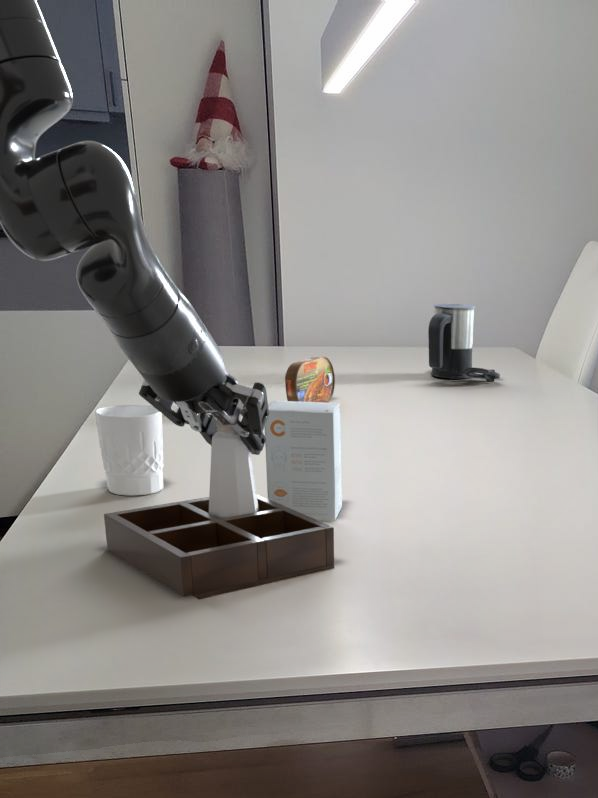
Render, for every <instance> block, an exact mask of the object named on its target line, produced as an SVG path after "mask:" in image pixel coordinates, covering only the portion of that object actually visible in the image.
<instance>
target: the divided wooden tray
mask: <svg viewBox="0 0 598 798" xmlns="http://www.w3.org/2000/svg"><path fill="white" fill-rule="evenodd" d="M256 494H257V501H258V507H259V510H258V512H255V513H249V514H243V515H238V516H232V517H227V518H221V519H220V518H218V517H216V516H213V515H211V514H209V496H206V497H205V496H204V497H199V498H193V499H187V500H182V501H181V500H180V501H176V502H169V503H162V504H156V505H149V506H144V507H143V506H142V507H138V508H132V509H124V510H120V511H119V510H117V511H113V512H106V513H103V519H104V520H103V521H104V530H105V539H106V548H107V551H109V552H111V553H112V554H114V555H115V556H117V557H119V558H120V559H122V560H123V561H125V562H127V563H128V564H130V565H131V566H133V567H134V568H137V570H140V571H141V572H143V573H144V574H146V575H148V576H149V577H150V578H153V579H154V580H156V581H157V582H159V583H160V584H162V585H163V586H165V587H167V588H169V589H170V590H172V591H173V592H175V593H176V594H178V595H180V597H183V598H185V597H189V596H193V597H194V598H196V599H197V600H203V599H207V598H211V597H216V596H219V595H220V596H221V595H224V594H228V593H233V592H237V591H241V590H245V589H249V588H255V587H259V586H262V585H267V584H272V583H277V582H281V581H286V580H290V579H293V578H297V577H298V578H299V577H302V576H307V575H311V574H316V573H319V572H324V571H325V572H326V571H329V570H333V569H335V537H334V536H335V528H334V526H332V525H329V524H327V523H325V522H324V521H321V520H316V519H313V518H311V517H309V516H306V515H304V514H302V513H299V512H297V511H295V510H293V509H290V508H288V507H286V506H283V505H281V504H279V503H276V502H274V501H272V500H269V499H268V497H264V496H263V495H260V494H258V493H256Z"/></svg>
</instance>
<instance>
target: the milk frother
mask: <svg viewBox="0 0 598 798" xmlns="http://www.w3.org/2000/svg"><path fill="white" fill-rule="evenodd" d="M432 306H433V308H434V314H433V316H432V317H431V318H430V320H429V323H428V332H427V333H428V334H427V335H428V366H429V367H430V368H431V372H430V375H431V376H434V377H437V378H444V379H452V380H453V379H468V378H476V379H481V380H485V382H487V383H493V382H495V380H499V379H500V378H501V374H500V372H497V371H496V370H495V369H487V368H482V367H473V342H474V341H473V340H474V324H475V323H474V321H475V320H474V318H475V309H476V307H477V306H474V305H469V304H459V303H434V304H433V305H432Z"/></svg>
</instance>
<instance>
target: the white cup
mask: <svg viewBox="0 0 598 798" xmlns="http://www.w3.org/2000/svg"><path fill="white" fill-rule="evenodd" d="M94 415H95V422H96V427H97V434H98V441H99V448H100V453H101V459H102V463H103V469H104V471H105V477H106V478H105V479H106V485H107V489H108V492H110V493H111V494H115V495H118V496H119V495H120V496H129V497H130V496H132V497H133V496H137V497H139V496H147V495H152V494H155V493H159V492H161V490H163V489H164V472H163V467H164V438H163V436H164V435H163V414H162V413H161V412H160V411H158V410H157V409H156V408H155V407H153V406H152V405H143V404H118V405H110V406H109V405H108V406H103V407H100V408H97V409H96V410H95V411H94Z"/></svg>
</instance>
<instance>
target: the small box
mask: <svg viewBox="0 0 598 798" xmlns="http://www.w3.org/2000/svg"><path fill="white" fill-rule="evenodd" d="M340 406H341V405H340V402H328V403H323V402H295V401H288V400H274V401H272V402H271V403H269V404H268V409H269V416H268V419H267V421H266V424H265V426H264V435H265V436H266V442H265V444H264V447H265V469H266V470H265V471H266V489H267V490H266V491H267V492H266V493H267V499H269V500H272V501H274V502H276V503H279V504H281V505H283V506H286V507H288V508H290V509H293V510H295V511H297V512H299V513H302V514H304V515H306V516H309V517H311V518H313V519H316V520H318V521H321V522H335V521H336V519H337V517H338V515H339V513H340V511H341V509H342V507H343V491H342V490H343V487H342V485H343V483H342V482H343V481H342V443H341V442H342V441H341V440H342V439H341V407H340Z"/></svg>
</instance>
